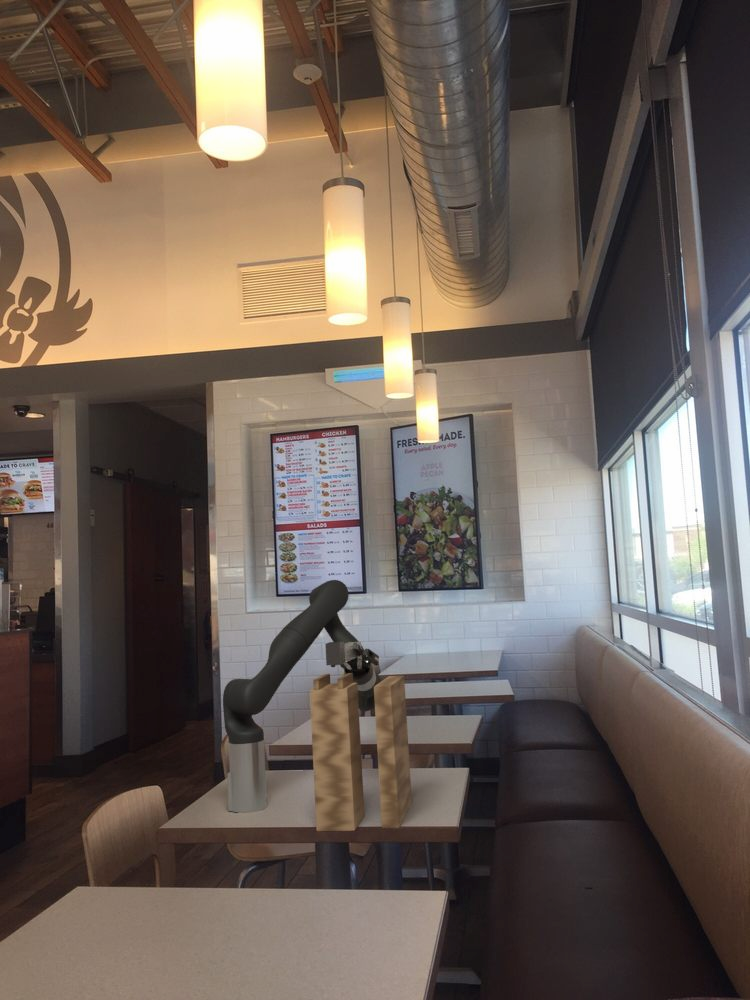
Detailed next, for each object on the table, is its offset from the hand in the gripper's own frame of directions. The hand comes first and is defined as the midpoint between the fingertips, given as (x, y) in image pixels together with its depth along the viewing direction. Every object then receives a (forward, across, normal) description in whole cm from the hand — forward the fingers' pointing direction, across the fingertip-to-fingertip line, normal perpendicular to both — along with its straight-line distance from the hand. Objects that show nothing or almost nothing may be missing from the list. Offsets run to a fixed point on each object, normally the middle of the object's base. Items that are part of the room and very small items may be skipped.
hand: (347, 646), depth 218 cm
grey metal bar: (+1, 0, +4) cm, 4 cm away
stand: (-10, +5, +40) cm, 42 cm away
